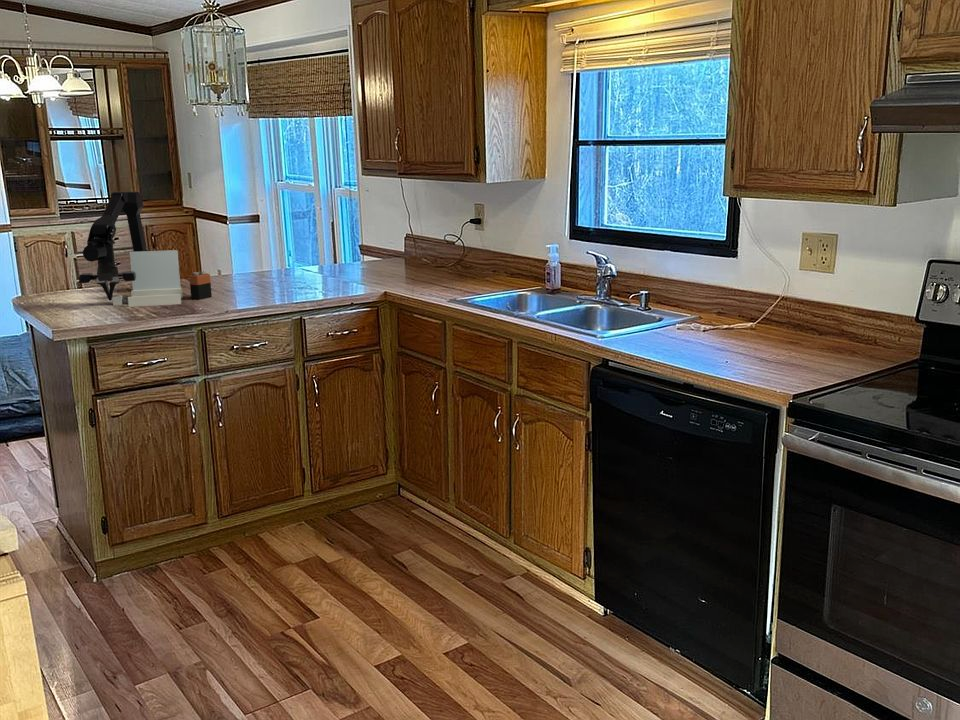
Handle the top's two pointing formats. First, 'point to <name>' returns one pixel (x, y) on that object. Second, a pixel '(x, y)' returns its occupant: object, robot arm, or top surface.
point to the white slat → (155, 297)
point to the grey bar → (119, 300)
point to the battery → (200, 285)
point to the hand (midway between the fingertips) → (110, 300)
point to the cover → (155, 270)
